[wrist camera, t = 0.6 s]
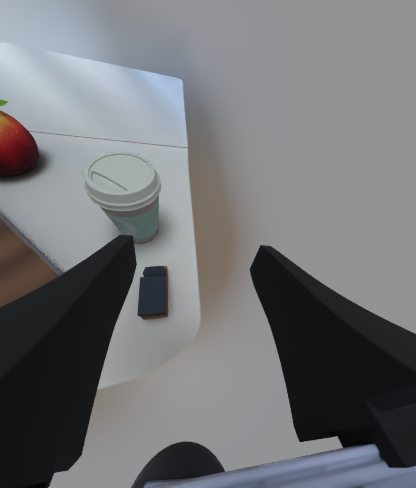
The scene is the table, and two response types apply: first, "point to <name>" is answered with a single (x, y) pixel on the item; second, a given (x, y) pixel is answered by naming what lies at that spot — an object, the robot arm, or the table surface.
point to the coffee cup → (126, 192)
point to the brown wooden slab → (21, 264)
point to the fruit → (15, 146)
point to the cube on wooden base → (153, 293)
